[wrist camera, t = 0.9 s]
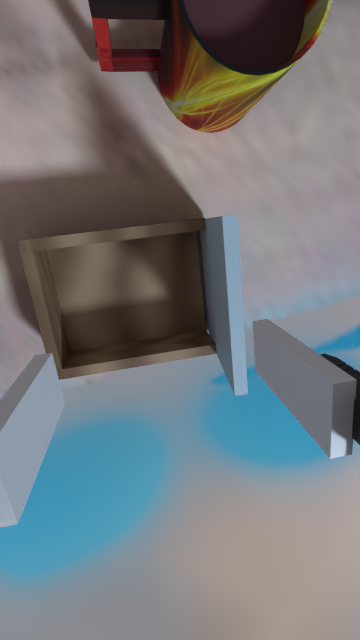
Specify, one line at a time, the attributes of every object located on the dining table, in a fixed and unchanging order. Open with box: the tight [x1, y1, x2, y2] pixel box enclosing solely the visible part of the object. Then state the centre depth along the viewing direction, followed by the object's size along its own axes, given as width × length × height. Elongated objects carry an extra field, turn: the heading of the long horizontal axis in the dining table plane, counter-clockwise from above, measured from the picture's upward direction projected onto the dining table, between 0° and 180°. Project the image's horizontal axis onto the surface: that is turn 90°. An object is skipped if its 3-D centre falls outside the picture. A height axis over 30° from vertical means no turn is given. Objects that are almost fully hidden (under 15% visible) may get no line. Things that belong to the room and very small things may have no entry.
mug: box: [88, 0, 333, 132], centre depth 23 cm, size 10×14×12 cm
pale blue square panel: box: [200, 215, 248, 396], centre depth 28 cm, size 13×13×1 cm
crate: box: [17, 218, 217, 380], centre depth 31 cm, size 16×13×6 cm
